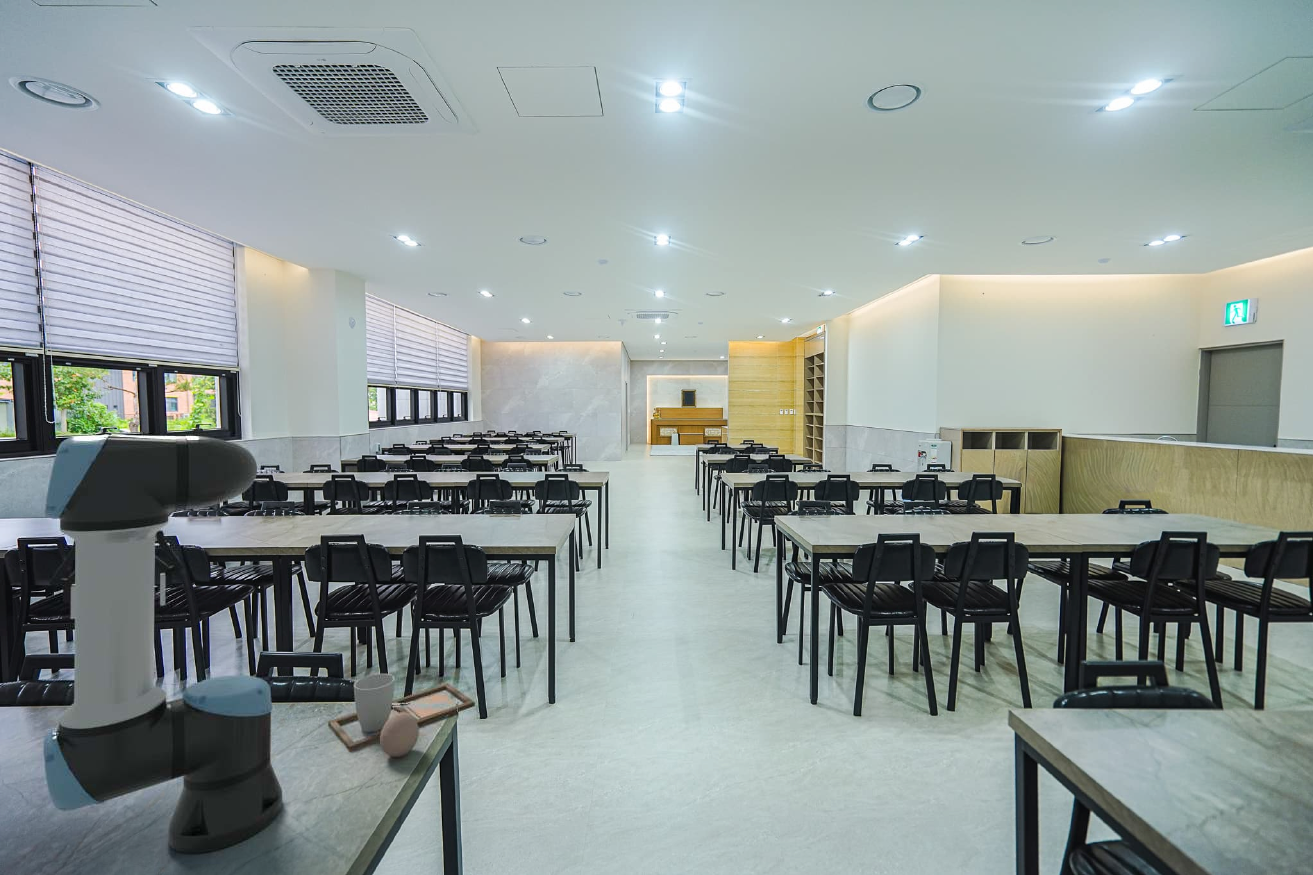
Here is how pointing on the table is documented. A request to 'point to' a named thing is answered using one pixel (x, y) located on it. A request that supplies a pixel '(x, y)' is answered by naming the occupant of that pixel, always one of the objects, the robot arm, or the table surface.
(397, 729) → the egg
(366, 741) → the brown wooden divided frame
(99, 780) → the robot arm
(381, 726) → the cup
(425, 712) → the pad
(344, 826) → the table surface
